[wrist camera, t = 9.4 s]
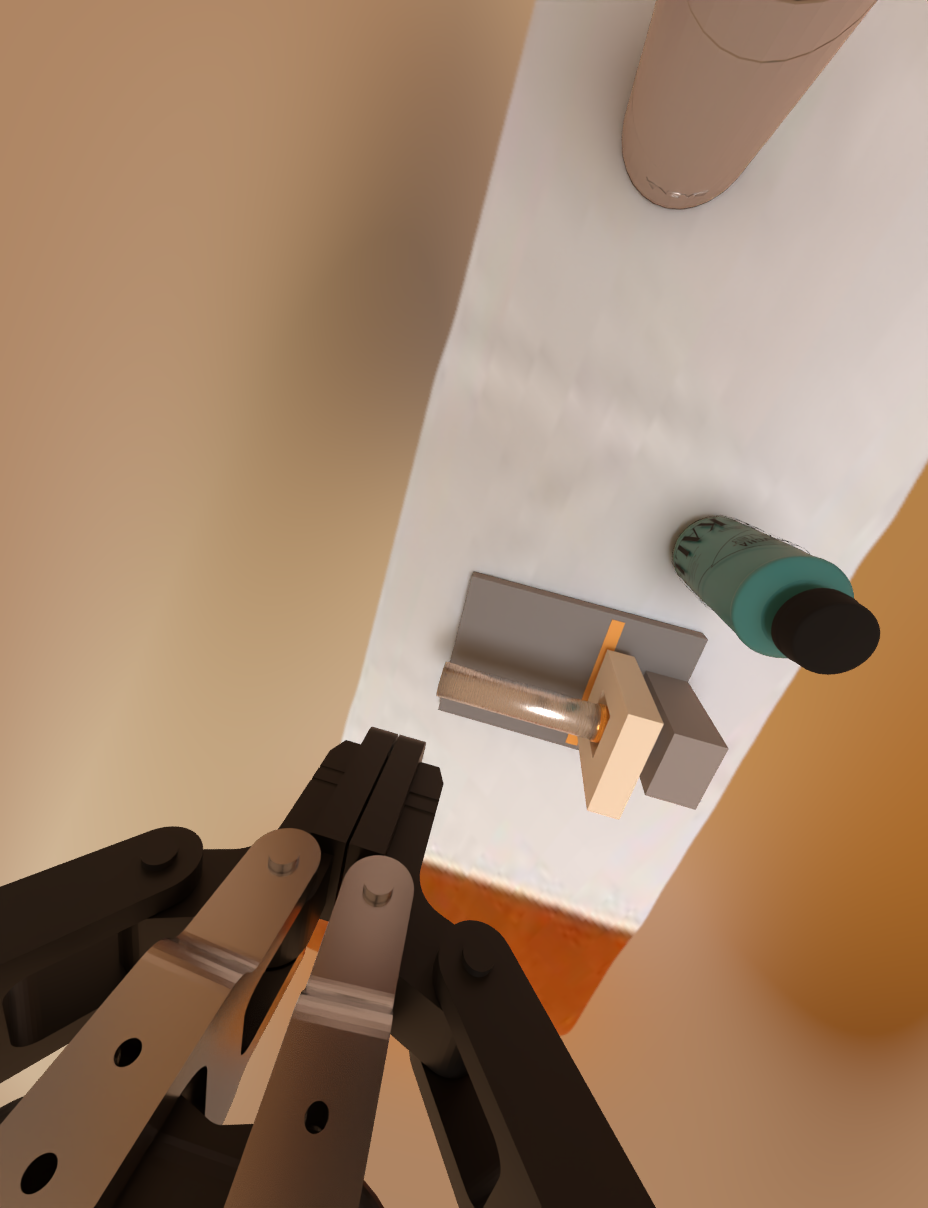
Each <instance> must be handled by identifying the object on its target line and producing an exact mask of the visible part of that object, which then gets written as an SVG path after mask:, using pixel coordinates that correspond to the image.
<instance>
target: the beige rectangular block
mask: <svg viewBox="0 0 928 1208" xmlns="http://www.w3.org/2000/svg"><path fill="white" fill-rule="evenodd" d="M588 702H592V703H595V704H603V705H607V706H608V710H609V714H610V718H609V721H608V723H607V726H606V728H605V730H604V733H603V735H602V738H601V740H600V742H599V744H598V743H595V742H591V741H590V740H589V739H585V738H582V737H578V736H577V738H578V746H579V753H580V761H581V768H582V776H583V784H584V791H585V799H586V806H587V810H588V811H591V812H594V813H598V814H601V815H605V816H608V817H611V818H615V819H618V820H619V819H620V817H621V815H622V812H623V810H624V808H625V806H626V804H627V802H628V800H629V797H630V795H631V793H632V791H633V789H634V787H635V785H636V782H637V780H638V778H639V776H640V774H641V772H642V770H643V768H644V765H645V763H646V761H647V759H648V757H649V755H650V753H651V750H652V748H653V746H654V744H655V742H656V740H657V738H658V735H659V733H660V731H661V729H662V727H663V725H664V723H663V721H662V719H661V716H660V714H659V712H658V709H657V707H656V705H655V703H654V700H653V698H652V696H651V693H650V691H649V689H648V687H647V684H646V682H645V680H644V677H643V675H642V673H641V671H640V668H639V666H638V664H637V661H636V659H635V657H633V656H629V655H626V654H622V653H619V652H615V651H611V650H608V649H607V652H606V654H605V657H604V660H603V662H602V665H601V667H600V670H599V672H598V675H597V678H596V680H595V683H594V685H593V688H592V691H591V693H590V696H589V698H588Z"/></svg>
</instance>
